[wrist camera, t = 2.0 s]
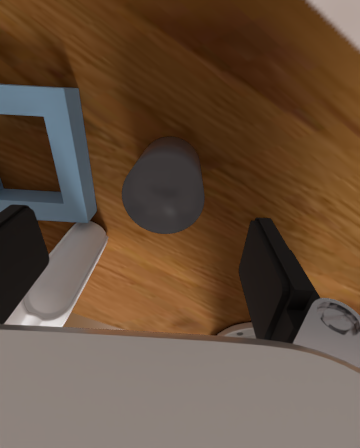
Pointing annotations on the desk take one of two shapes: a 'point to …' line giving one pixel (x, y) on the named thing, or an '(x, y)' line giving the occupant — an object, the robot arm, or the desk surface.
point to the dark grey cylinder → (165, 187)
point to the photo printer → (62, 278)
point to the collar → (54, 152)
